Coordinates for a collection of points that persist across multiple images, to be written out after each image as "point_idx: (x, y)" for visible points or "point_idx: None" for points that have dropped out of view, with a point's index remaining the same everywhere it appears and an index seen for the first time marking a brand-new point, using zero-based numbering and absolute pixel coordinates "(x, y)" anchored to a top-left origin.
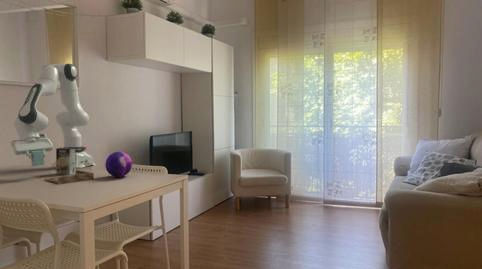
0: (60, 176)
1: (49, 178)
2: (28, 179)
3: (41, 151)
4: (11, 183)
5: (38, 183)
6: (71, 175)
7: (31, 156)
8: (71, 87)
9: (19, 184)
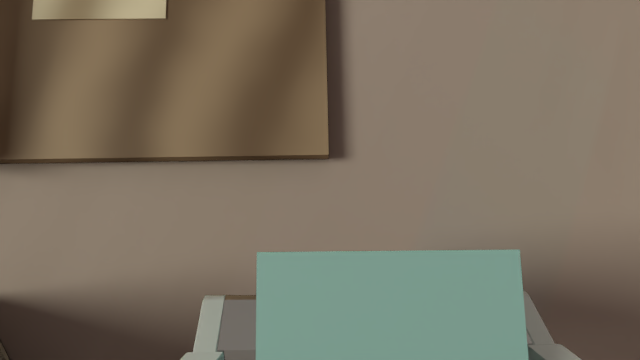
0: (156, 148)
1: (292, 114)
2: None
3: (308, 253)
4: (616, 228)
5: (432, 37)
6: (45, 120)
7: None
8: None
9: (574, 117)
